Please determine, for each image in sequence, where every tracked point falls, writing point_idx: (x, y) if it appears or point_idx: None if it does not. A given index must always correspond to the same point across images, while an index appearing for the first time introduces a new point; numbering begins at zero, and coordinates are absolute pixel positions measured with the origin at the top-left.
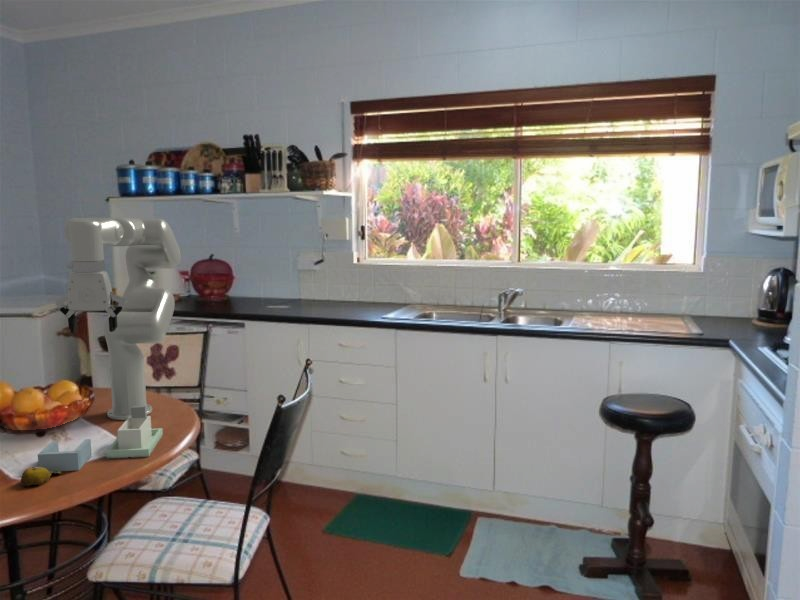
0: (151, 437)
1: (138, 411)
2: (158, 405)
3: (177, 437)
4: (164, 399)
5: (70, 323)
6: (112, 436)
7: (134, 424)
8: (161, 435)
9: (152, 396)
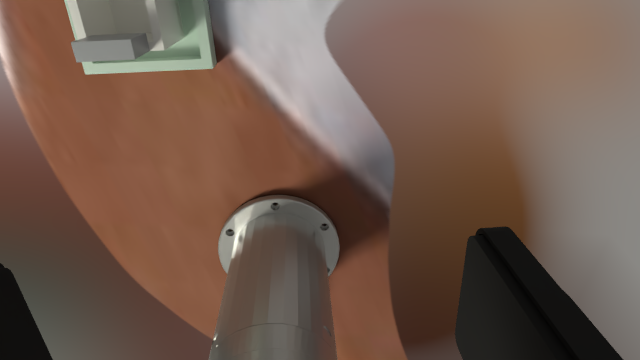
0: None
1: (107, 38)
2: None
3: (34, 45)
4: None
5: (572, 315)
6: (257, 69)
7: (150, 38)
8: None
9: None
